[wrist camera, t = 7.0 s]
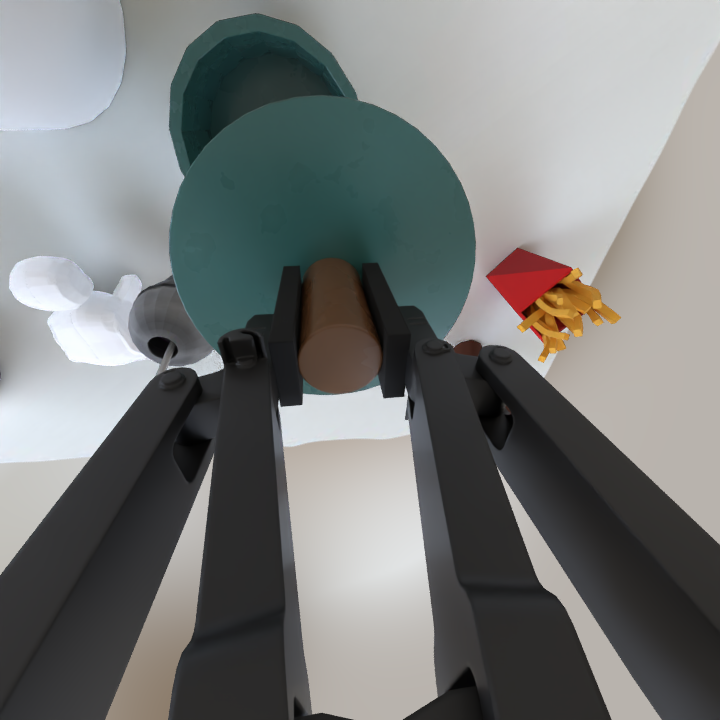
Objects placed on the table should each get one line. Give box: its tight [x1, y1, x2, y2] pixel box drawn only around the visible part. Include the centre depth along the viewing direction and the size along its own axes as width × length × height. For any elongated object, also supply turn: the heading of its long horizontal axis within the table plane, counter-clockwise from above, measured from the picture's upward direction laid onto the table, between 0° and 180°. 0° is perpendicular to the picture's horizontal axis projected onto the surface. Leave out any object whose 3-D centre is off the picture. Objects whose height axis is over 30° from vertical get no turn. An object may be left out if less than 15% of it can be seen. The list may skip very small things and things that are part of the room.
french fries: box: [486, 248, 621, 363], centre depth 35 cm, size 9×8×15 cm
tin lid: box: [169, 95, 476, 395], centre depth 14 cm, size 15×15×8 cm
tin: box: [169, 13, 358, 176], centre depth 27 cm, size 14×14×8 cm
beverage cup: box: [128, 275, 214, 376], centre depth 29 cm, size 7×7×20 cm
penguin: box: [10, 256, 150, 366], centre depth 34 cm, size 8×8×15 cm
